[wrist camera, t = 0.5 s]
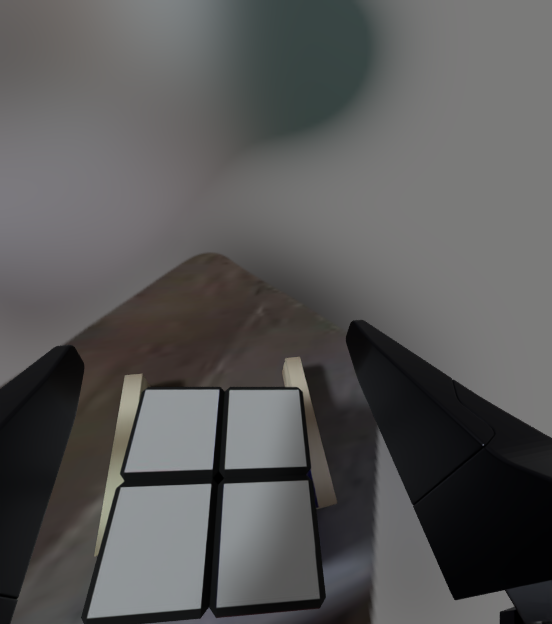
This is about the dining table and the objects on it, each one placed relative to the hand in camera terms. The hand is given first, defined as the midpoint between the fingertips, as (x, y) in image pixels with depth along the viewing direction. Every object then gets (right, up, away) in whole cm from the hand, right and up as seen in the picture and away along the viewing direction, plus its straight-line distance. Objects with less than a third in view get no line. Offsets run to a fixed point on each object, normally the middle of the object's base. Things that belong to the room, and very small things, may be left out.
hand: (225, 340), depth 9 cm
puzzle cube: (-2, -14, +13) cm, 19 cm away
